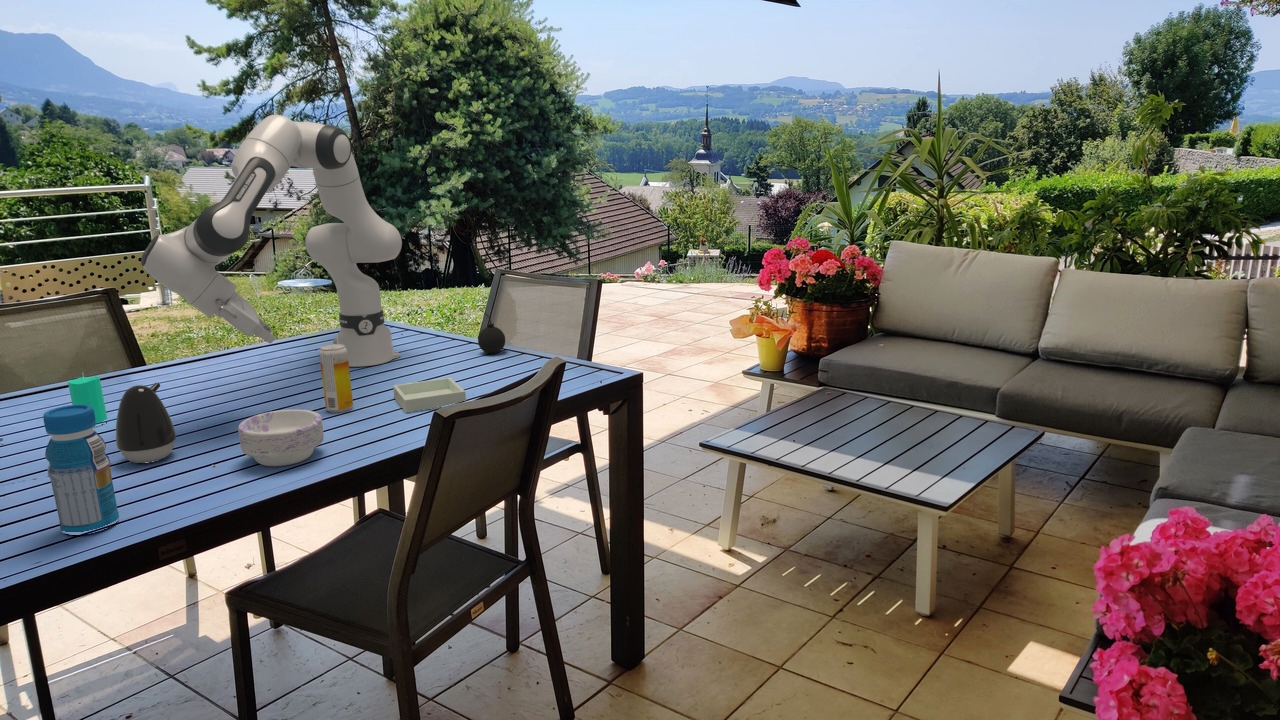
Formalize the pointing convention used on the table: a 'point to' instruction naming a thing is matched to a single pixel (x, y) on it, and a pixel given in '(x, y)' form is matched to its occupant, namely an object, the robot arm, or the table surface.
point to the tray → (428, 394)
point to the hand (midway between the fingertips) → (271, 336)
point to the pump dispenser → (144, 426)
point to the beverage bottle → (79, 469)
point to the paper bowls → (281, 436)
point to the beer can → (336, 378)
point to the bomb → (491, 339)
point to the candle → (88, 395)
